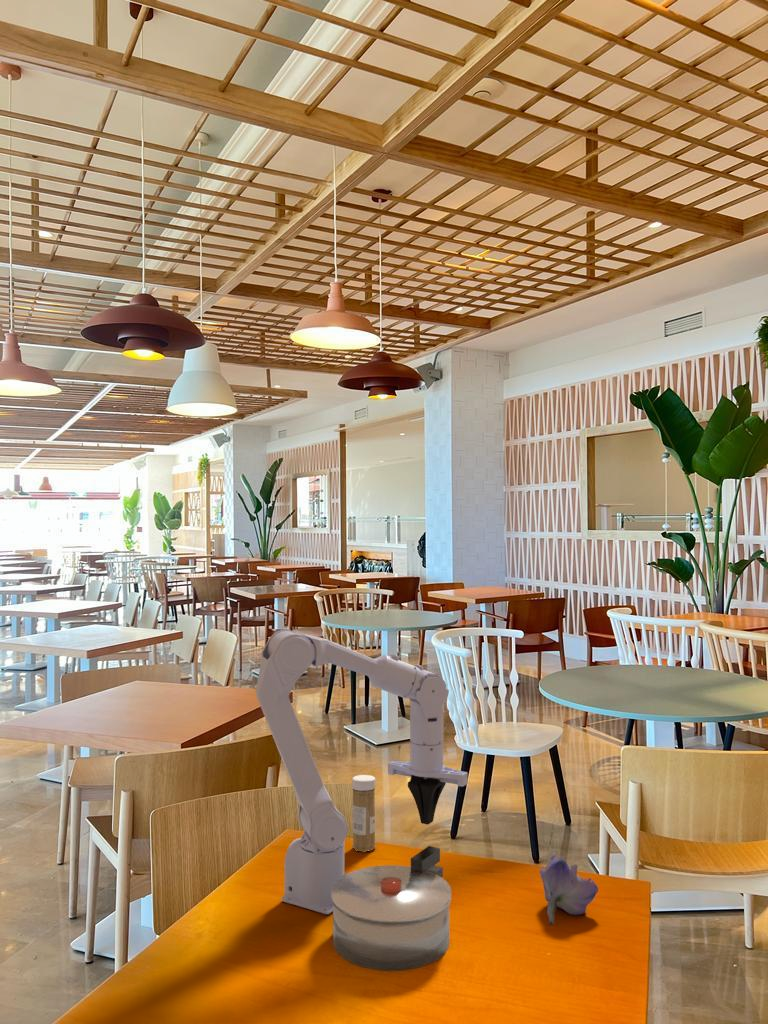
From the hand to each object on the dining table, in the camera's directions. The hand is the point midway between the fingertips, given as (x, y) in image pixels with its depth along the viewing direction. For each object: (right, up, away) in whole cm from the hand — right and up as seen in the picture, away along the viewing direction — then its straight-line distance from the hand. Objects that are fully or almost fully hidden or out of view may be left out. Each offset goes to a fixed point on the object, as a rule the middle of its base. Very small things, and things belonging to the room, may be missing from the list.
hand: (427, 822), depth 128 cm
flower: (+21, -10, -11) cm, 26 cm away
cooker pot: (-5, -9, -16) cm, 20 cm away
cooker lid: (-5, -3, -17) cm, 18 cm away
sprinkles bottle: (-11, -12, +15) cm, 22 cm away
